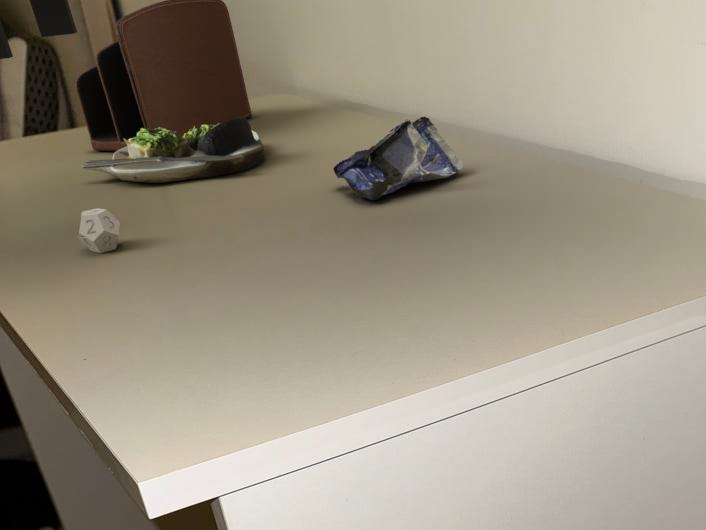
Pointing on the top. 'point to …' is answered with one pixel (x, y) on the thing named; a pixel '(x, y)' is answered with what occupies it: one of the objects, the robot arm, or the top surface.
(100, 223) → the game die
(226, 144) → the salad plate
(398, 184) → the snack package
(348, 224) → the top surface
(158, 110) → the letter holder
